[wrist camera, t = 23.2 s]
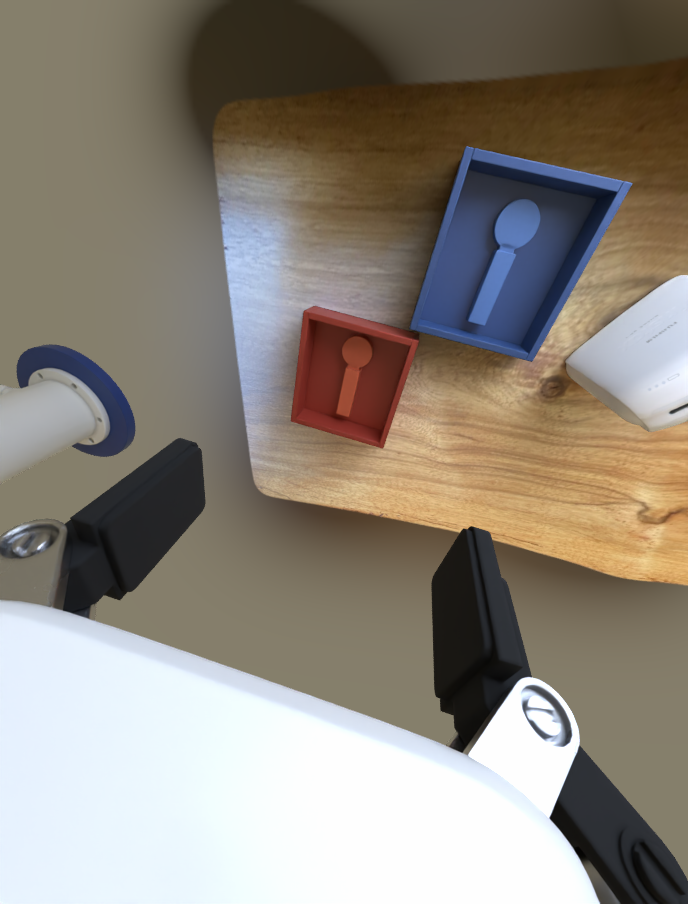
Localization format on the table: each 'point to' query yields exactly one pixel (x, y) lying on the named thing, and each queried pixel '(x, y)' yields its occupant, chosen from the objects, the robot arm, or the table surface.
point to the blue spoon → (504, 254)
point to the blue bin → (536, 263)
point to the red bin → (327, 367)
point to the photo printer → (641, 360)
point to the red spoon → (353, 370)
